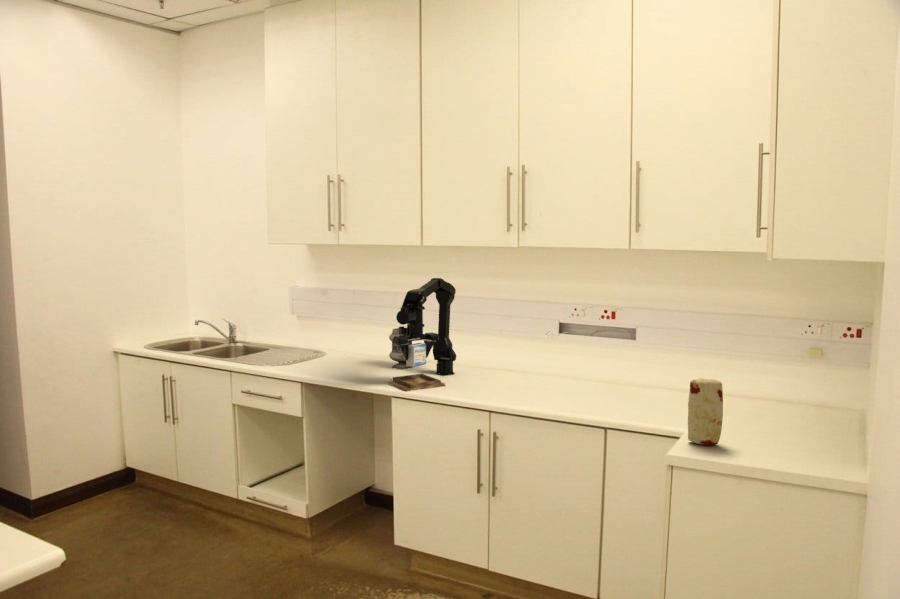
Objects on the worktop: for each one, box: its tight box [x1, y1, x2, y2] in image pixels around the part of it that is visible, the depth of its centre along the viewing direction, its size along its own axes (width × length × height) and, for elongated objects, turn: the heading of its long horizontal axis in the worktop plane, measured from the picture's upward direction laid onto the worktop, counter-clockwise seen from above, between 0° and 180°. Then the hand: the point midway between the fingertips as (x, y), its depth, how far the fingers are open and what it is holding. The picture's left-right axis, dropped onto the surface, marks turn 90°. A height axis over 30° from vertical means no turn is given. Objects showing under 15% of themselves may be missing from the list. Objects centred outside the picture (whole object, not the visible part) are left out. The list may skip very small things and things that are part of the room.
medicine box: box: [406, 342, 427, 368], centre depth 289 cm, size 8×4×9 cm, turn 142°
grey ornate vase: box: [388, 327, 413, 370], centre depth 326 cm, size 12×12×18 cm
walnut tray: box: [388, 373, 446, 392], centre depth 290 cm, size 18×16×2 cm
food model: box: [687, 377, 724, 447], centre depth 208 cm, size 10×7×20 cm
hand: (416, 359), depth 289 cm, fingers closed on medicine box, 9 cm apart
